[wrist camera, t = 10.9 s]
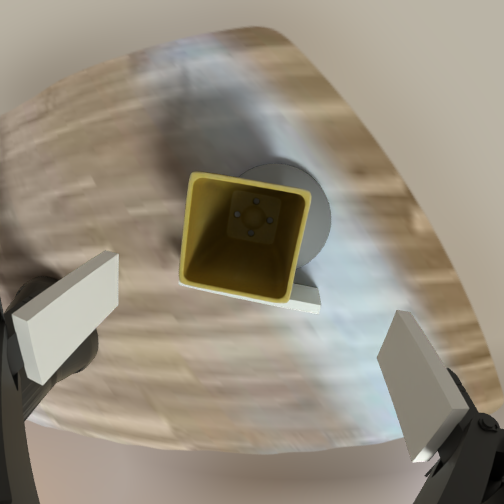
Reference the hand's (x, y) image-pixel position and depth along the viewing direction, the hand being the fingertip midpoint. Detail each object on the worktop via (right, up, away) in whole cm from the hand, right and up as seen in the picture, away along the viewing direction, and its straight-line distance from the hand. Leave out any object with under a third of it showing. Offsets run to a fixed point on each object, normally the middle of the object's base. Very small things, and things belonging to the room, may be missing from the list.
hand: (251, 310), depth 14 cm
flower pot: (0, +6, +18) cm, 19 cm away
